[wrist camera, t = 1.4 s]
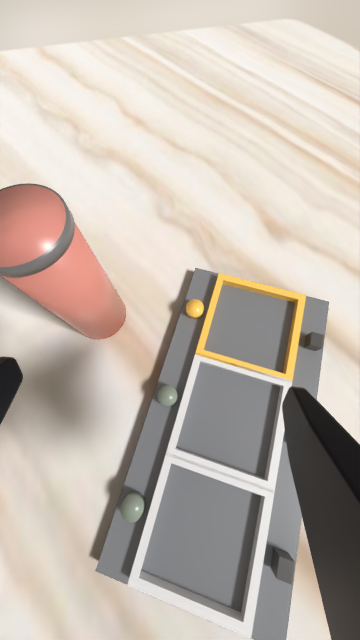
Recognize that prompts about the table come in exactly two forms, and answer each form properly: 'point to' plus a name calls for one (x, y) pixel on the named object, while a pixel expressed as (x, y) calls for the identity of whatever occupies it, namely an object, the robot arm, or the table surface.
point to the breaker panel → (221, 459)
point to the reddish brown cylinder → (55, 261)
